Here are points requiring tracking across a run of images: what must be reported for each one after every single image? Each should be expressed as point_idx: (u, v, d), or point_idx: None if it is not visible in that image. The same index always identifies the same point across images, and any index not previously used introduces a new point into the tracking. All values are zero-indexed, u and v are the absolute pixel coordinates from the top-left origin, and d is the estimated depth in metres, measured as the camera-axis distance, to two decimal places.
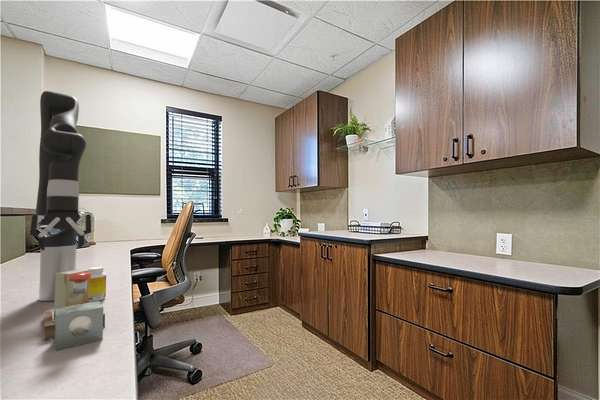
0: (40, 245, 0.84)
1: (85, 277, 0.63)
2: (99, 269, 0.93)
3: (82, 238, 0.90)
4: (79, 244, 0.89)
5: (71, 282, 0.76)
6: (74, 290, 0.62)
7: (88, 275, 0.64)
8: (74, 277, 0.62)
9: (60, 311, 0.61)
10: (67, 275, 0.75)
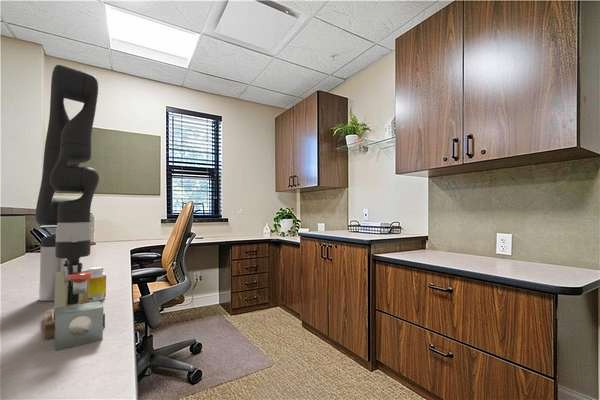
0: (76, 298, 0.75)
1: (85, 277, 0.63)
2: (99, 269, 0.93)
3: None
4: None
5: (71, 282, 0.76)
6: (74, 290, 0.62)
7: (88, 275, 0.64)
8: (74, 277, 0.62)
9: (60, 311, 0.61)
10: (67, 275, 0.75)
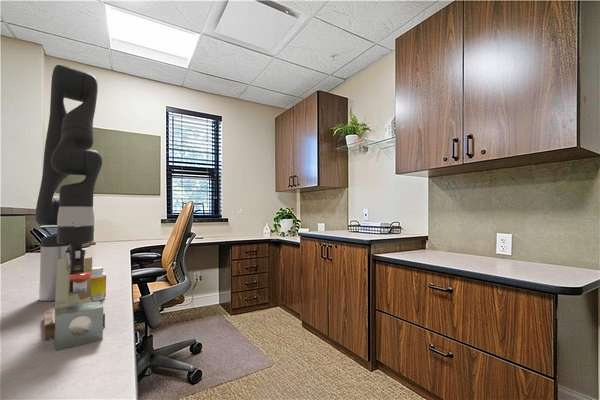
0: None
1: (85, 277, 0.63)
2: (99, 269, 0.93)
3: None
4: None
5: (73, 269, 0.72)
6: (74, 290, 0.62)
7: (88, 275, 0.64)
8: (74, 277, 0.62)
9: (60, 311, 0.61)
10: None
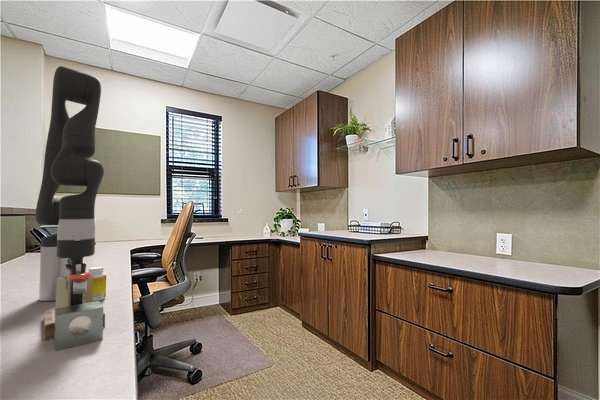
0: (80, 300, 0.68)
1: (85, 277, 0.63)
2: (99, 269, 0.93)
3: None
4: None
5: None
6: (74, 290, 0.62)
7: (88, 275, 0.64)
8: (74, 277, 0.62)
9: (60, 311, 0.61)
10: None
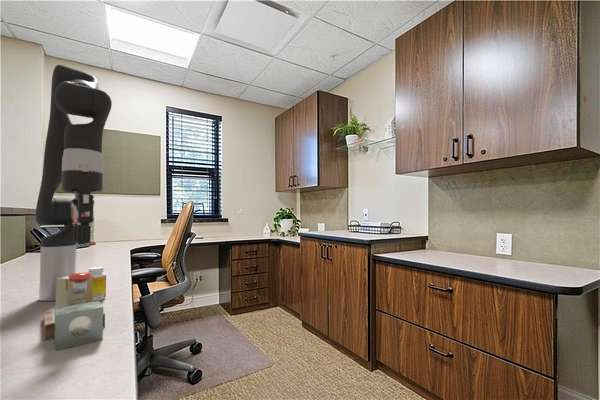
0: (88, 236, 0.62)
1: (85, 277, 0.63)
2: (99, 269, 0.93)
3: None
4: None
5: None
6: (74, 290, 0.62)
7: (88, 275, 0.64)
8: (74, 277, 0.62)
9: (60, 311, 0.61)
10: (68, 280, 0.69)
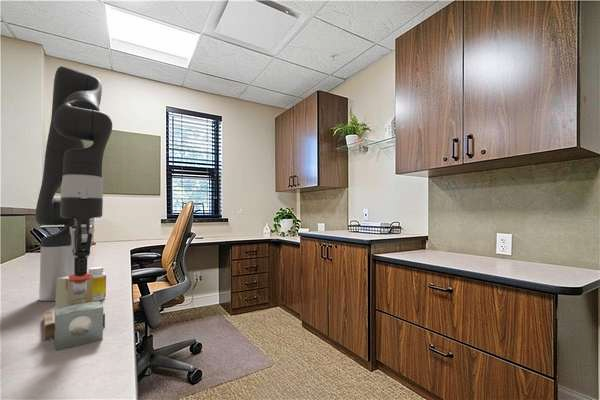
0: (85, 268, 0.64)
1: (85, 278, 0.63)
2: (99, 269, 0.93)
3: None
4: None
5: None
6: (74, 291, 0.62)
7: (88, 276, 0.64)
8: (74, 278, 0.62)
9: (60, 311, 0.61)
10: (68, 280, 0.69)
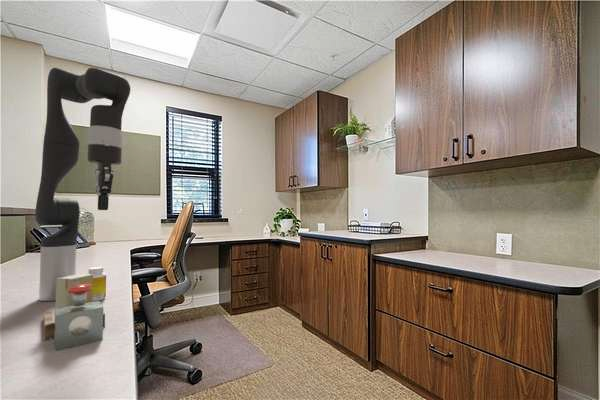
0: (106, 204, 0.77)
1: (85, 289, 0.63)
2: (99, 269, 0.93)
3: None
4: None
5: None
6: (74, 302, 0.62)
7: (88, 287, 0.63)
8: (74, 289, 0.62)
9: (60, 311, 0.61)
10: (68, 280, 0.69)
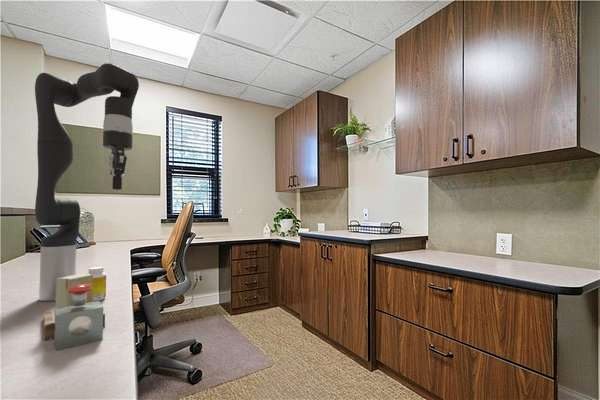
0: None
1: (85, 289, 0.63)
2: (99, 269, 0.93)
3: None
4: None
5: None
6: (74, 302, 0.62)
7: (88, 287, 0.63)
8: (74, 289, 0.62)
9: (60, 311, 0.61)
10: (68, 280, 0.69)
